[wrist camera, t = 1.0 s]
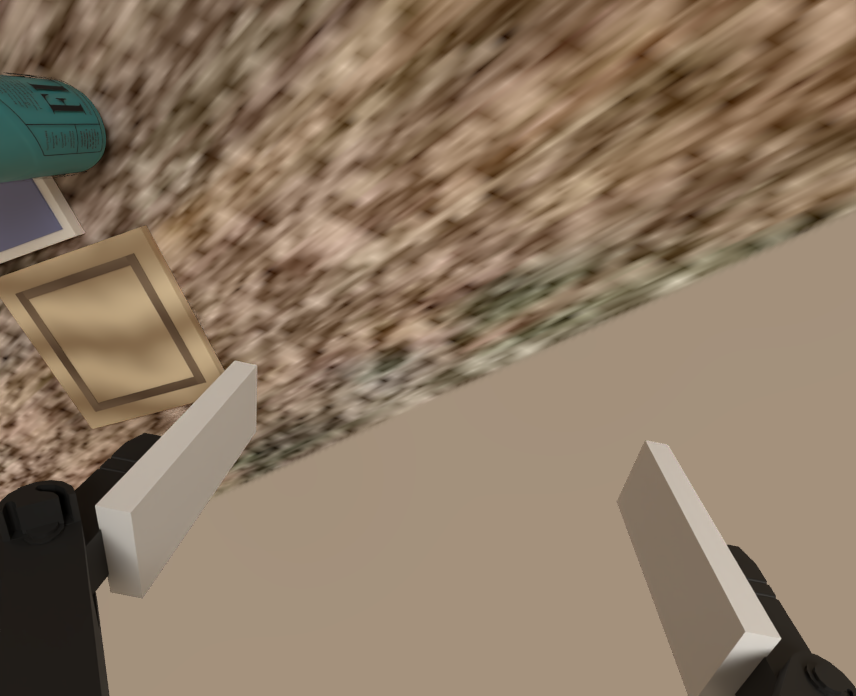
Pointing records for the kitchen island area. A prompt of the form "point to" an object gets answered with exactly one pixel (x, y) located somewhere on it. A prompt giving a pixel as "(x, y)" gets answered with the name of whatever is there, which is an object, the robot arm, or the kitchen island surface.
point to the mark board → (114, 328)
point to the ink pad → (33, 217)
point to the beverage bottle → (46, 129)
